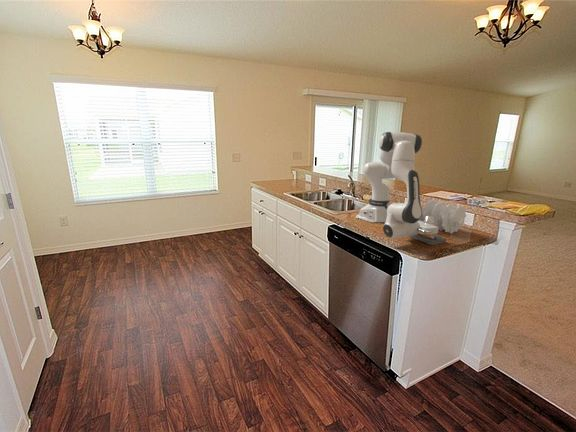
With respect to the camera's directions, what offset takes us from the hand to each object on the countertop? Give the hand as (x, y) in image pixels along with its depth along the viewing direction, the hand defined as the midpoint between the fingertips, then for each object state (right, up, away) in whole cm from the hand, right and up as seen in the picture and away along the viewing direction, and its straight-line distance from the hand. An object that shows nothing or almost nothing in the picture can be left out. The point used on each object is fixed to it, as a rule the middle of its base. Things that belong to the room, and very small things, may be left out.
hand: (429, 224), depth 160 cm
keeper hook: (+2, -8, -4) cm, 9 cm away
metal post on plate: (-1, -6, +1) cm, 6 cm away
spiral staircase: (+15, -4, +19) cm, 24 cm away
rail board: (-3, -7, +6) cm, 10 cm away
